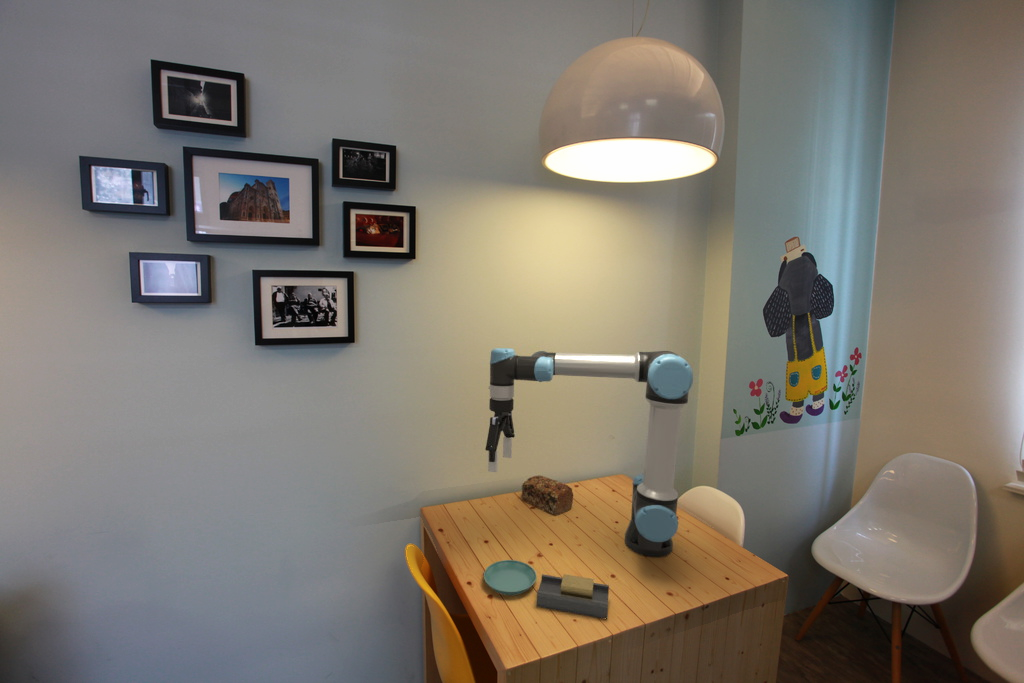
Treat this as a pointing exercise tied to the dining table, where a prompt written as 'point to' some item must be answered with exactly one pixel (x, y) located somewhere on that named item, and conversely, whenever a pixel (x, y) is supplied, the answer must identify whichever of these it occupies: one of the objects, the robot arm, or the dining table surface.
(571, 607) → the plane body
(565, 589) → the tan rectangular block
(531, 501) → the bread
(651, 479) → the robot arm
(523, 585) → the saucer
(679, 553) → the dining table surface
